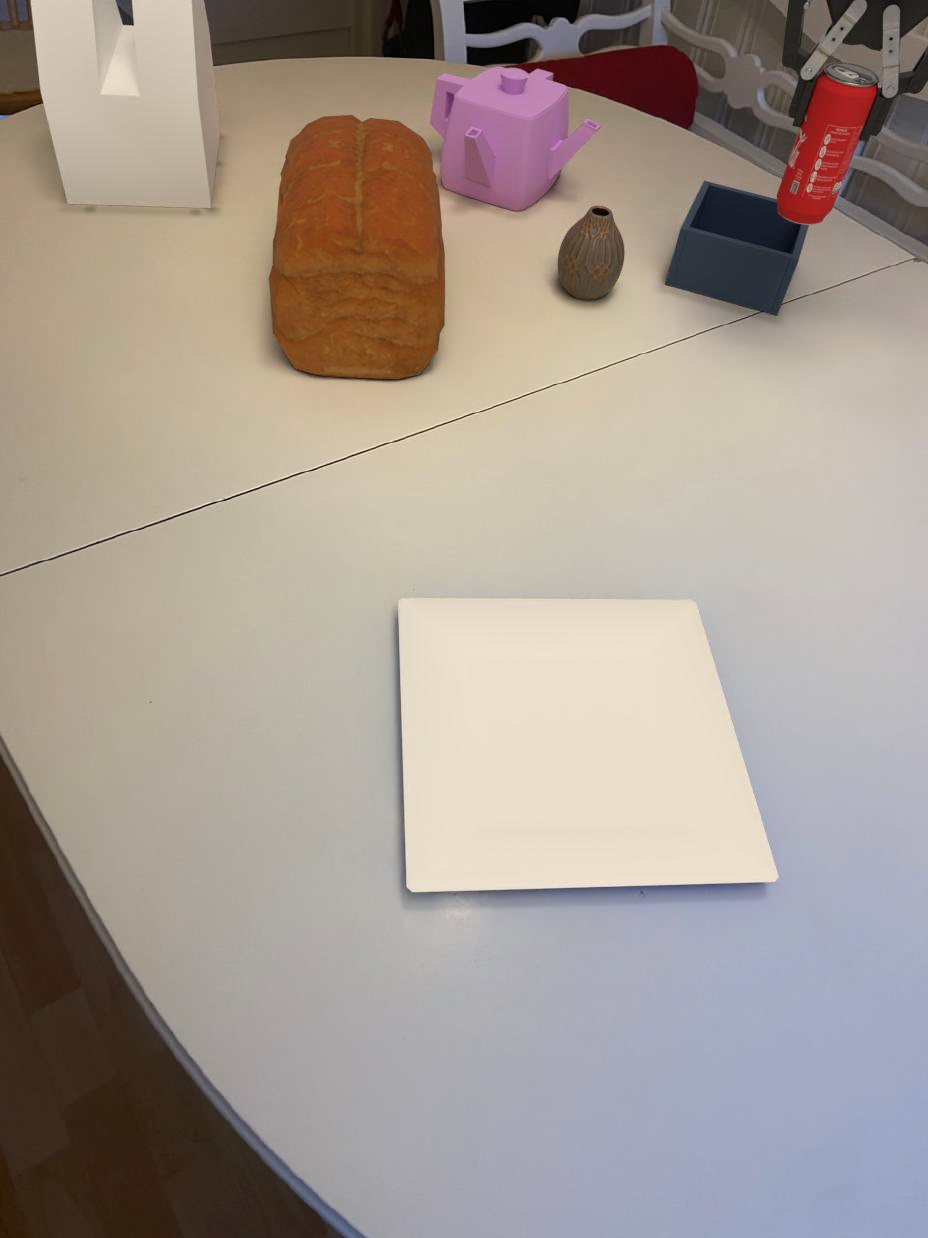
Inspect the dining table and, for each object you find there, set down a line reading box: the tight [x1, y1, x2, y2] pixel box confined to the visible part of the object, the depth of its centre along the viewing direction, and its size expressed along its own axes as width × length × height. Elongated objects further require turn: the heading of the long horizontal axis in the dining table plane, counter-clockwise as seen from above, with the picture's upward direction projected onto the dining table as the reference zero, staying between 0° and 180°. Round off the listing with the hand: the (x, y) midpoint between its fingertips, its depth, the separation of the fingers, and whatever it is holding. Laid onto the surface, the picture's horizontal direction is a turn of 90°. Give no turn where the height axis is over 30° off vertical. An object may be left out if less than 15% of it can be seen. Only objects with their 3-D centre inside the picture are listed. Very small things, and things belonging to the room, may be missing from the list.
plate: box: [397, 597, 780, 893], centre depth 62 cm, size 22×22×2 cm
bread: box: [268, 114, 446, 380], centre depth 89 cm, size 16×27×16 cm, turn 3°
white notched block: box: [30, 0, 221, 209], centre depth 100 cm, size 19×15×25 cm
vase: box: [556, 205, 626, 301], centre depth 97 cm, size 7×7×9 cm
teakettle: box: [429, 65, 601, 212], centre depth 110 cm, size 17×17×12 cm
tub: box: [664, 180, 810, 316], centre depth 103 cm, size 13×13×6 cm
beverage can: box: [776, 61, 881, 226], centre depth 82 cm, size 5×5×12 cm
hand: (830, 129), depth 81 cm, fingers closed on beverage can, 5 cm apart
